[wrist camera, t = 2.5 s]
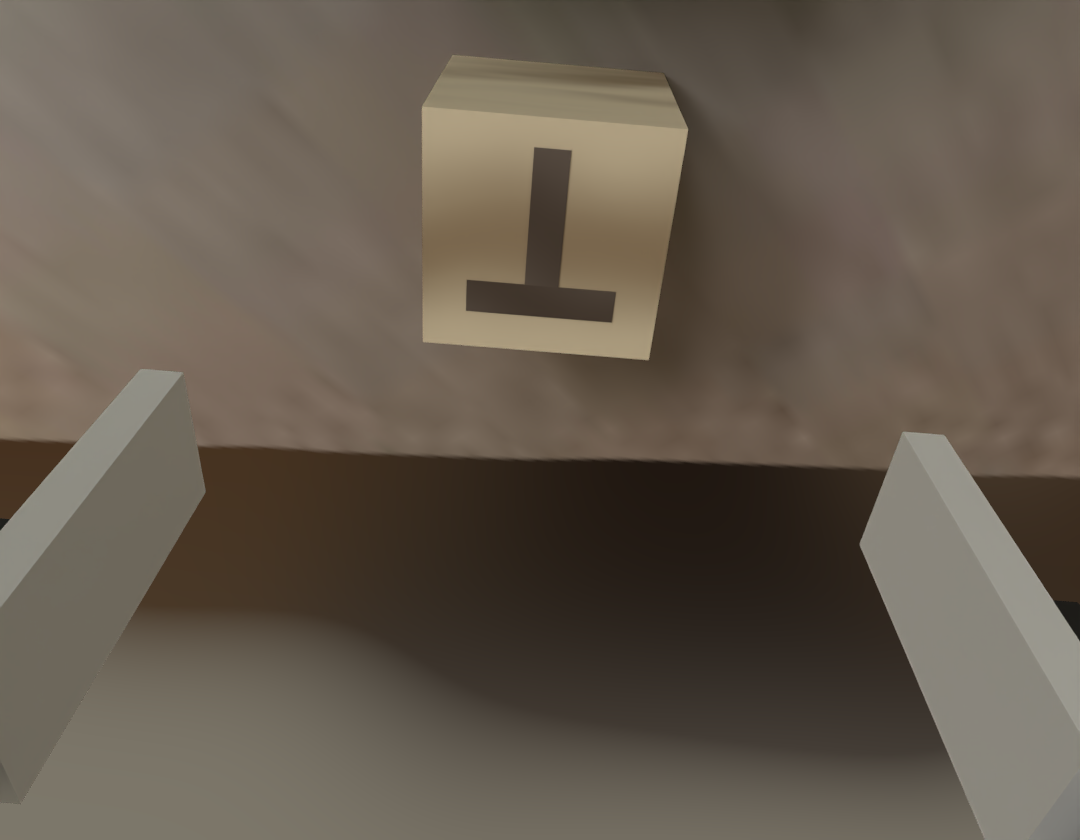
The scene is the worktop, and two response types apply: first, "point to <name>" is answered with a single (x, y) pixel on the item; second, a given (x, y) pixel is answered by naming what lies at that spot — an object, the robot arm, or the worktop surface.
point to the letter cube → (547, 205)
